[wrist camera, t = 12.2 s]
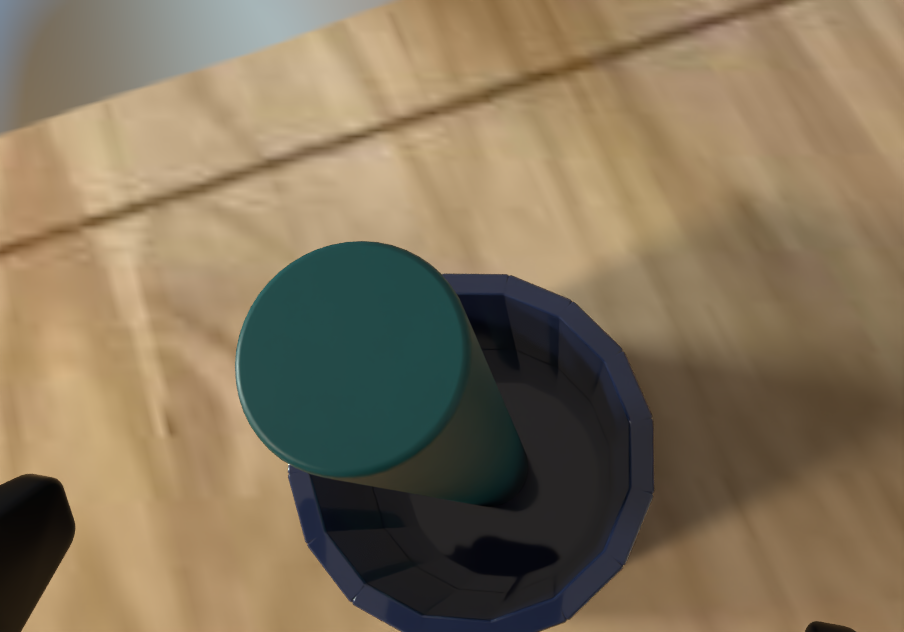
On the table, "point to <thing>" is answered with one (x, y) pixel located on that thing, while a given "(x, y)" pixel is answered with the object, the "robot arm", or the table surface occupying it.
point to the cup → (528, 513)
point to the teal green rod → (376, 378)
